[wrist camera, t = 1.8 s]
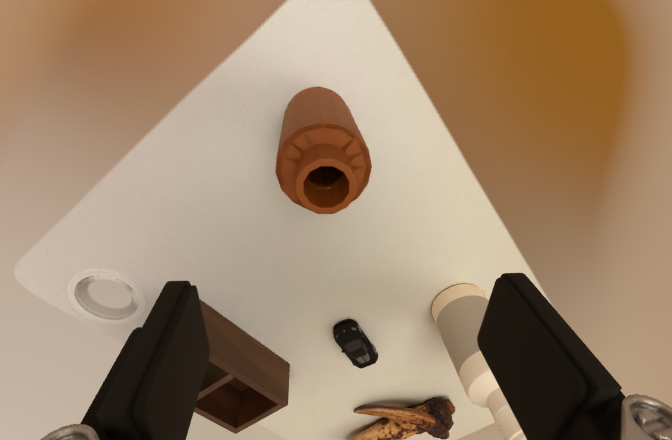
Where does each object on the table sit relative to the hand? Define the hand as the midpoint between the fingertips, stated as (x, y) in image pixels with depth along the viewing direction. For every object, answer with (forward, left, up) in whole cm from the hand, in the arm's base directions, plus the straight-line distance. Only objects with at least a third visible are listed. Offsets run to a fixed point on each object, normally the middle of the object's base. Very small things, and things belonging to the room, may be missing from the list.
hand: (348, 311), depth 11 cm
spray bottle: (+26, -10, -22) cm, 36 cm away
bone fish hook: (+32, -32, -23) cm, 51 cm away
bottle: (0, 0, -22) cm, 22 cm away
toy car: (+18, -21, -22) cm, 36 cm away
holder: (+3, -30, -22) cm, 38 cm away
